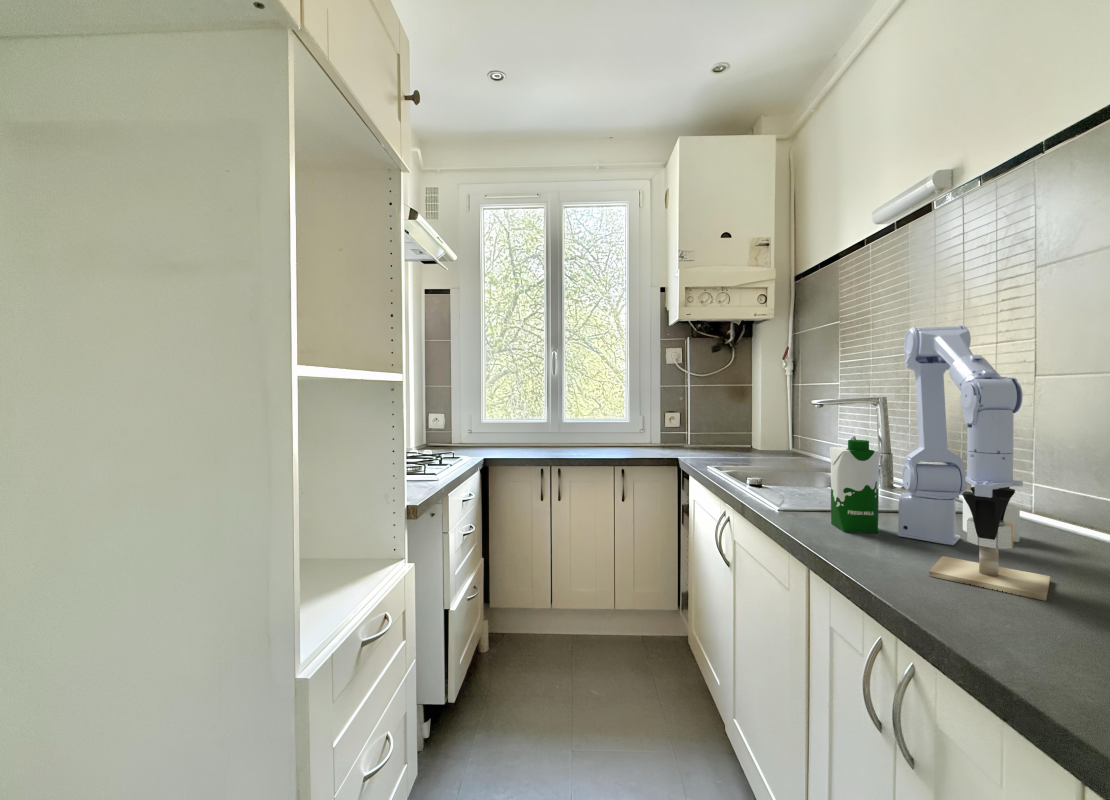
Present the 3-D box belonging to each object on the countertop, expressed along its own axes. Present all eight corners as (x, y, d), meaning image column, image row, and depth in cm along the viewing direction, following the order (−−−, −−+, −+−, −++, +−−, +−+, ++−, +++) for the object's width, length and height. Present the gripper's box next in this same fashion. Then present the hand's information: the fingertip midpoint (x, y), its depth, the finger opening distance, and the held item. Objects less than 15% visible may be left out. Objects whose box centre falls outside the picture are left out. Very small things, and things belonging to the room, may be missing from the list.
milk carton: (841, 533, 109) (841, 441, 109) (825, 522, 118) (825, 437, 118) (884, 534, 108) (885, 441, 108) (865, 523, 117) (865, 437, 117)
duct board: (929, 575, 84) (929, 543, 84) (942, 560, 92) (942, 530, 91) (1046, 601, 74) (1046, 563, 74) (1050, 581, 81) (1050, 547, 81)
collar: (965, 543, 83) (965, 522, 82) (970, 536, 86) (970, 516, 86) (1011, 550, 78) (1011, 528, 78) (1014, 543, 82) (1014, 522, 82)
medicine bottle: (1002, 533, 108) (1002, 477, 108) (1020, 542, 102) (1020, 483, 101) (961, 530, 111) (962, 476, 110) (977, 539, 104) (977, 482, 104)
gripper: (1018, 458, 74) (1017, 549, 75) (1026, 450, 84) (1026, 530, 85) (958, 454, 80) (957, 539, 80) (972, 446, 89) (972, 522, 90)
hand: (989, 534), depth 82 cm, fingers closed on collar, 6 cm apart
